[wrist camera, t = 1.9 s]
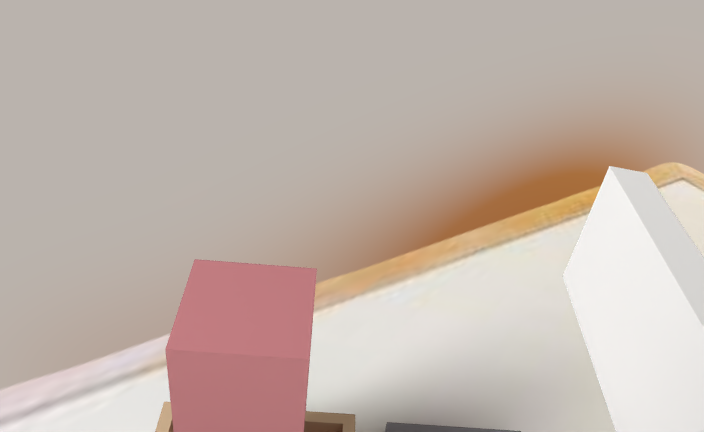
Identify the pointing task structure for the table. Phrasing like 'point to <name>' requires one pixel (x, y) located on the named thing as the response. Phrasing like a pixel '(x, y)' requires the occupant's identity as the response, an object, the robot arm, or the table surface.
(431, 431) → the rubber mat
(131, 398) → the table surface
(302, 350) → the pink rectangular block
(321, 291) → the table surface
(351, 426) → the hollow rectangular frame
